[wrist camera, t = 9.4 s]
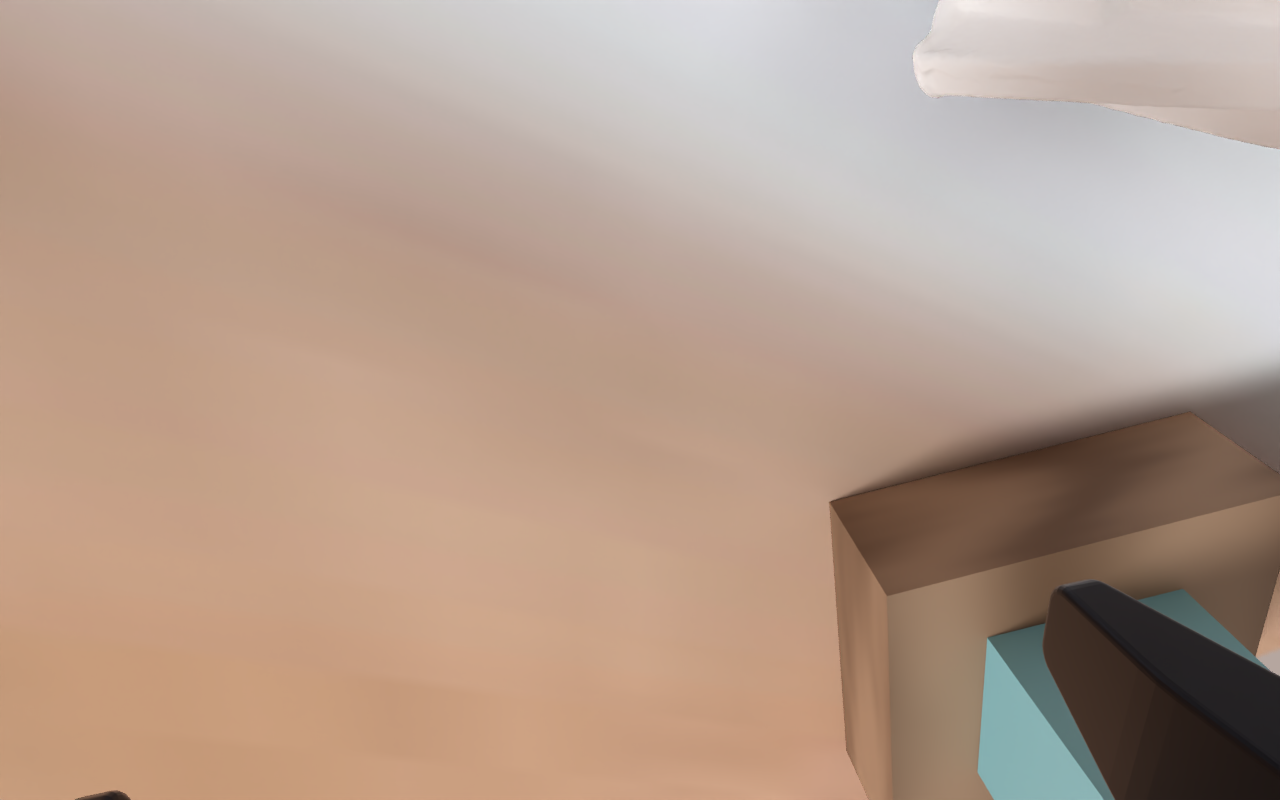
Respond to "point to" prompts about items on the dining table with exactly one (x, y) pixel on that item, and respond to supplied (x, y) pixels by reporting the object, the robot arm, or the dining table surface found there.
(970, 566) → the walnut block
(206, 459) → the dining table surface
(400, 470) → the dining table surface
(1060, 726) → the teal cube
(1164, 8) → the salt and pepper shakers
